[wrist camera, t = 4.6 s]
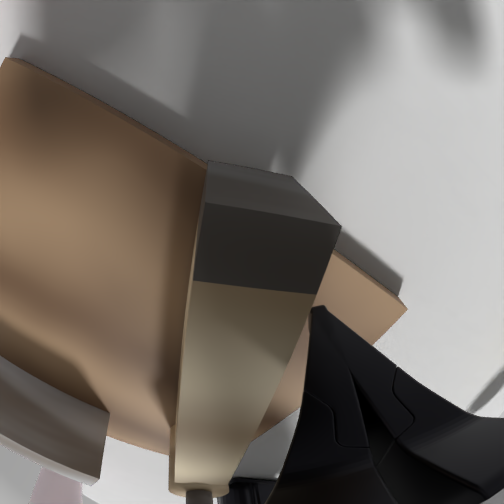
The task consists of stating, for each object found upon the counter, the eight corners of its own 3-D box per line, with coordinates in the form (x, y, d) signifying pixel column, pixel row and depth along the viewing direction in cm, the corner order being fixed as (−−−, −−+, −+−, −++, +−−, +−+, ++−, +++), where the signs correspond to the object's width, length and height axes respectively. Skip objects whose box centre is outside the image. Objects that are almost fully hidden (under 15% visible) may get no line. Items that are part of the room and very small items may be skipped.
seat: (211, 454, 20) (217, 525, 14) (-33, 344, 12) (-70, 412, 7) (398, 297, 14) (467, 390, 8) (19, 58, 7) (-105, 59, 1)
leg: (219, 445, 16) (224, 499, 13) (169, 441, 16) (168, 496, 12) (301, 178, 9) (354, 228, 6) (198, 158, 9) (187, 199, 5)
